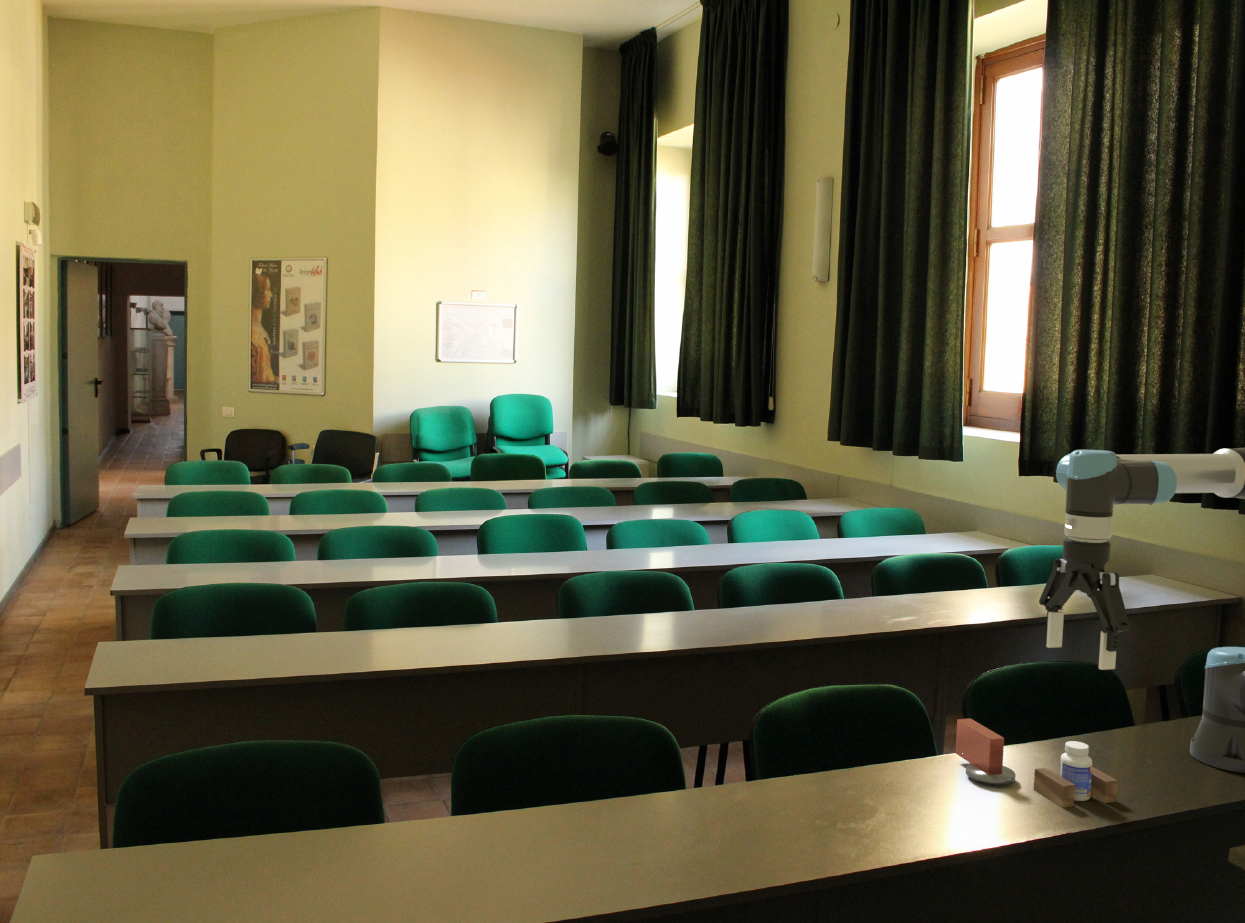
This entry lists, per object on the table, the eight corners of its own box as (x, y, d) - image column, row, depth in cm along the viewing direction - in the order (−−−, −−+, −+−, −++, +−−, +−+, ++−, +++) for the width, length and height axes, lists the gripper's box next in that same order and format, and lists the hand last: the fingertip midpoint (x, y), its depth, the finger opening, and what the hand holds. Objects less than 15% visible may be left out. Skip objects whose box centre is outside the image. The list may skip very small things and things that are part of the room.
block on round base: (981, 754, 208) (983, 717, 207) (1025, 782, 194) (1027, 742, 193) (942, 758, 205) (943, 720, 205) (983, 786, 192) (985, 746, 191)
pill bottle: (1095, 802, 188) (1098, 750, 187) (1065, 801, 188) (1068, 749, 187) (1082, 789, 193) (1086, 739, 192) (1053, 789, 193) (1056, 738, 192)
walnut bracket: (1085, 784, 196) (1087, 763, 196) (1115, 801, 188) (1117, 780, 188) (1033, 789, 193) (1034, 768, 193) (1062, 807, 185) (1063, 786, 185)
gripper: (1023, 527, 190) (1016, 639, 193) (1120, 552, 166) (1111, 680, 169) (1058, 526, 192) (1051, 637, 194) (1159, 551, 168) (1150, 677, 170)
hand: (1079, 657), depth 182 cm, fingers open, 13 cm apart
